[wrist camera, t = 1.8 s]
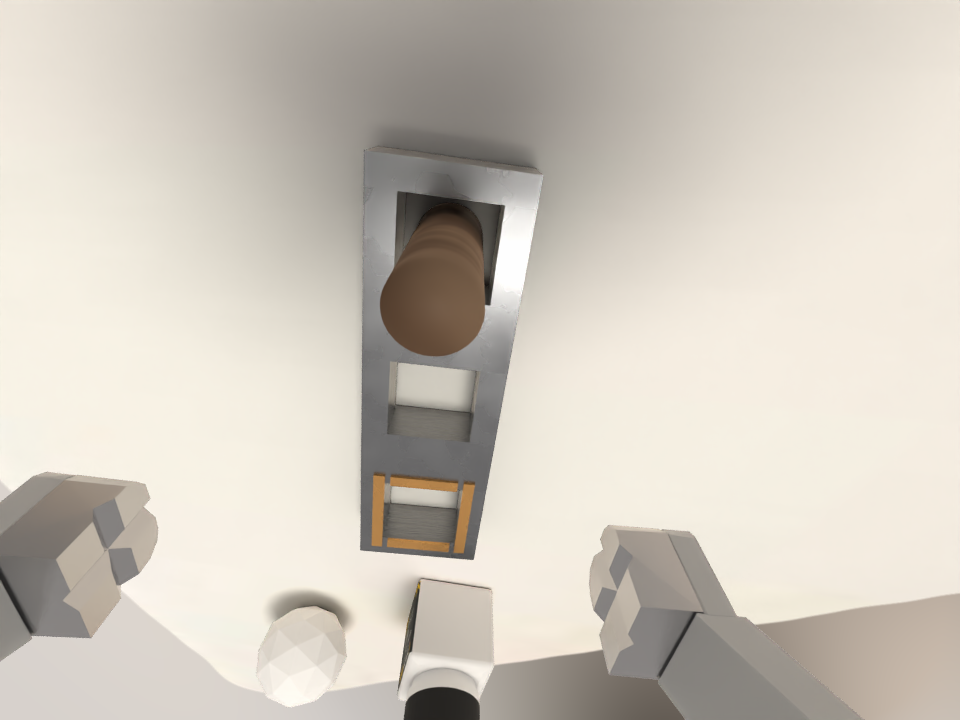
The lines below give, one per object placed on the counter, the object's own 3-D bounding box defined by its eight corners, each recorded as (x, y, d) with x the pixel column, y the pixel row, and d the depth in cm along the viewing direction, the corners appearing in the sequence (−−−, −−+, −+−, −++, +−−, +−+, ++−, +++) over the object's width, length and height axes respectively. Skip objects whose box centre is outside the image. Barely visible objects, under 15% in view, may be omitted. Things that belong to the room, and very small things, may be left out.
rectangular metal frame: (378, 146, 26) (363, 150, 22) (536, 168, 26) (544, 175, 23) (369, 516, 39) (359, 552, 36) (473, 525, 40) (473, 562, 36)
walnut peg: (459, 189, 27) (445, 237, 16) (495, 246, 28) (504, 324, 18) (404, 226, 28) (357, 295, 17) (441, 280, 29) (420, 373, 19)
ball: (344, 591, 48) (371, 672, 44) (273, 634, 47) (294, 721, 43) (312, 583, 42) (339, 676, 38) (229, 632, 41) (248, 735, 36)
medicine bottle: (419, 576, 43) (400, 727, 32) (492, 588, 44) (497, 738, 33) (407, 621, 46) (385, 772, 36) (475, 631, 47) (474, 781, 36)
